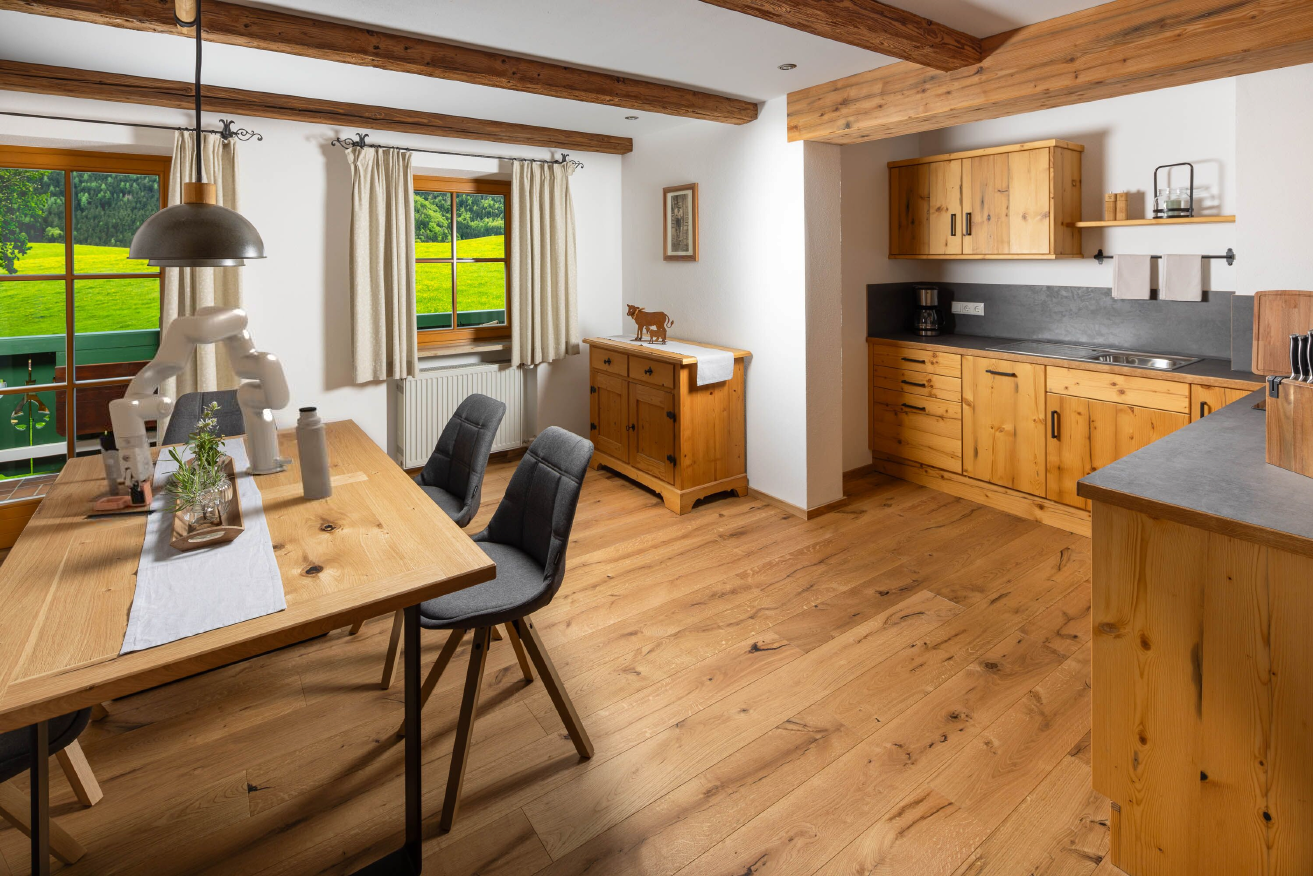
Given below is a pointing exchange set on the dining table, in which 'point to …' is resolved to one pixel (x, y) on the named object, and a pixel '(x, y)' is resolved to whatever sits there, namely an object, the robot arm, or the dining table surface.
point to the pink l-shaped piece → (124, 499)
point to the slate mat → (120, 514)
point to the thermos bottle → (313, 455)
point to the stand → (113, 485)
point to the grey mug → (111, 452)
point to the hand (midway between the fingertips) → (142, 500)
